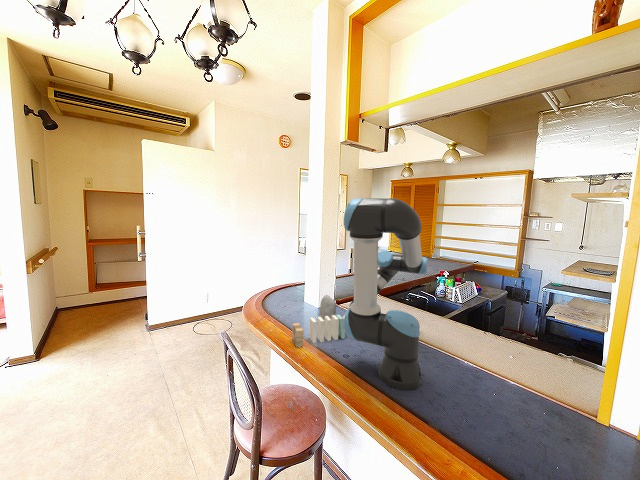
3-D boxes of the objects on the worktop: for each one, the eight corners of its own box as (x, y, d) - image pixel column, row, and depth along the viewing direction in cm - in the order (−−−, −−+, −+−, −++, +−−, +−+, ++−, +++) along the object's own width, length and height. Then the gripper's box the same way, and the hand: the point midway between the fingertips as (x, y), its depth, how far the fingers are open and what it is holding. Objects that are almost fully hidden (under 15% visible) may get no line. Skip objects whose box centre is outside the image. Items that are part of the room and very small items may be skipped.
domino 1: (316, 342, 121) (316, 321, 120) (312, 343, 121) (313, 322, 120) (312, 337, 126) (313, 317, 125) (309, 338, 126) (310, 317, 124)
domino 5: (345, 338, 126) (343, 318, 124) (342, 339, 125) (339, 319, 124) (340, 333, 131) (338, 314, 129) (337, 334, 130) (335, 315, 129)
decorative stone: (338, 326, 140) (338, 298, 138) (329, 329, 136) (330, 300, 134) (324, 319, 148) (324, 293, 146) (315, 322, 144) (316, 295, 142)
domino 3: (330, 340, 124) (331, 320, 123) (327, 341, 123) (328, 320, 122) (327, 335, 128) (327, 315, 127) (324, 336, 128) (324, 316, 127)
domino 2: (323, 341, 123) (324, 320, 121) (320, 342, 122) (320, 321, 121) (320, 336, 127) (320, 316, 126) (316, 337, 127) (317, 317, 126)
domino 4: (338, 339, 125) (338, 319, 124) (334, 340, 124) (335, 319, 123) (334, 334, 130) (334, 315, 128) (331, 335, 129) (331, 315, 128)
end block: (303, 346, 118) (303, 330, 117) (296, 347, 117) (296, 331, 116) (298, 338, 125) (298, 322, 125) (292, 339, 124) (292, 323, 124)
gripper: (387, 293, 126) (354, 331, 123) (373, 286, 138) (343, 320, 135) (378, 283, 124) (344, 321, 120) (364, 276, 136) (333, 311, 133)
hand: (343, 321), depth 128 cm, fingers closed
